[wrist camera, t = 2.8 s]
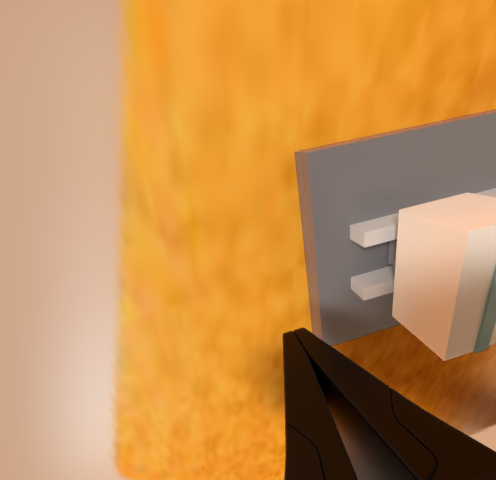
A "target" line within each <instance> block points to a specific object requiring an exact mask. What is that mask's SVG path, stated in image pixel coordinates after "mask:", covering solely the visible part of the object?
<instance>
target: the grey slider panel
mask: <svg viewBox="0 0 496 480" xmlns="http://www.w3.org/2000/svg"><path fill="white" fill-rule="evenodd" d="M295 159H296V169H297V179H298V189H299V199H300V209H301V219H302V229H303V239H304V249H305V259H306V269H307V279H308V289H309V299H310V309H311V319H312V329H313V333H314V335H315V336H317V337H318V338H320V339H321V340H323V341H324V342H325V343H327V344H328V345H330V346H333V345H337V344H340V343H343V342H346V341H349V340H353V339H356V338H359V337H362V336H365V335H368V334H372V333H375V332H378V331H381V330H384V329H388V328H391V327H394V326H397V325H400V324H401V323H400V322H398V321H397V320H396V319H395V318H394V317H393V316H392V309H393V294H394V278H395V267H394V266H392V265H391V264H389V263H388V257H389V241H392V240H395V239H397V233H398V218H399V210H400V209H404V208H408V207H412V206H416V205H420V204H424V203H428V202H432V201H436V200H440V199H444V198H448V197H451V196H455V195H459V194H463V193H473V194H479V195H485V196H491V197H496V110H491V111H486V112H481V113H477V114H472V115H467V116H462V117H458V118H453V119H448V120H443V121H439V122H434V123H429V124H424V125H420V126H415V127H410V128H405V129H401V130H396V131H391V132H387V133H382V134H377V135H372V136H368V137H363V138H358V139H353V140H349V141H344V142H339V143H334V144H330V145H325V146H320V147H315V148H311V149H306V150H301V151H296V152H295Z"/></svg>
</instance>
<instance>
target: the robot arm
mask: <svg viewBox="0 0 496 480" xmlns="http://www.w3.org/2000/svg"><path fill="white" fill-rule="evenodd" d="M283 365H284V398H285V424H286V425H285V436H286V460H285V477H284V480H358V479H359V480H496V452H495V451H493V450H492V449H490V448H488V447H486V446H485V445H483V444H481V443H480V442H478V441H476V440H475V439H473V438H471V437H469V436H468V435H466V434H464V433H462V432H461V431H459V430H457V429H456V428H454V427H452V426H450V425H449V424H447V423H445V422H444V421H442V420H440V419H439V418H437V417H435V416H434V415H432V414H430V413H429V412H427V411H425V410H424V409H422V408H421V407H419V406H418V405H416V404H415V403H413V402H412V401H410V400H408V399H407V398H405V397H404V396H402V395H401V394H400V393H398V392H397V391H395V390H394V389H392V388H389V386H388V385H386V384H385V383H383V382H382V381H381V380H379V379H378V378H376V377H375V376H373V375H372V374H370V373H369V372H368V371H366V370H365V369H363V368H362V367H360V366H359V365H357V364H356V363H354V362H353V361H352V360H350V359H349V358H347V357H346V356H344V355H343V354H341V353H340V352H339V351H337V350H336V349H334V348H333V347H331V346H330V345H328V344H327V343H325V342H324V341H323V340H321V339H320V338H318V337H317V336H315V335H314V334H312V333H311V332H310V331H308V330H307V329H305V328H300V329H296V330H294V332H293V331H289V332H286V333H283ZM356 475H357V476H356ZM357 477H358V479H357Z"/></svg>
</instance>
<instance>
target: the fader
mask: <svg viewBox="0 0 496 480" xmlns="http://www.w3.org/2000/svg"><path fill="white" fill-rule="evenodd" d="M388 263H389V264H391V265H392V266H394V267H395V278H394V294H393V309H392V316H393V317H394V318H395V319H396V320H397V321H398V322H400V323H401V324H402V325H403V326H404V327H405V328H406V329H408V330H409V331H410V332H411V333H412V334H413V335H415V336H416V337H417V338H418V339H419V340H420V341H421V342H423V343H424V344H425V345H426V346H427V347H428V348H430V349H431V350H432V351H433V352H434V353H435V354H436V355H438V356H439V357H440V358H441V359H442V360H443V361H447V360H450V359H453V358H456V357H459V356H461V355H464V354H467V353H470V352H473V351H474V352H475V353H478V352H481V351H484V350H487V349H488V348H489V346H491V345H494V344H496V197H491V196H485V195H479V194H473V193H463V194H459V195H455V196H451V197H448V198H444V199H440V200H436V201H432V202H428V203H424V204H420V205H416V206H412V207H408V208H404V209H400V210H399V218H398V233H397V239H395V240H392V241H389V257H388Z"/></svg>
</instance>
